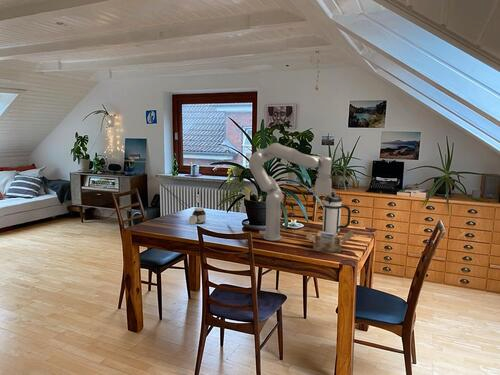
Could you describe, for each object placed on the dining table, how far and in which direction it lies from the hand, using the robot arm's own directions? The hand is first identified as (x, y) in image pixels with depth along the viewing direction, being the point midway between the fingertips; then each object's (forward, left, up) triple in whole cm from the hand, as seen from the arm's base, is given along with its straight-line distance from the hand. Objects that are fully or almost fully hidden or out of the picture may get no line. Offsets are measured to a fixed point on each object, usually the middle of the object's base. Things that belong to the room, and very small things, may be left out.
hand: (321, 202), depth 227 cm
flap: (+13, -9, -21) cm, 27 cm away
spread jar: (-92, +21, -27) cm, 98 cm away
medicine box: (+5, -8, -26) cm, 28 cm away
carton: (+2, -8, -26) cm, 28 cm away
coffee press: (+9, +24, -27) cm, 37 cm away
